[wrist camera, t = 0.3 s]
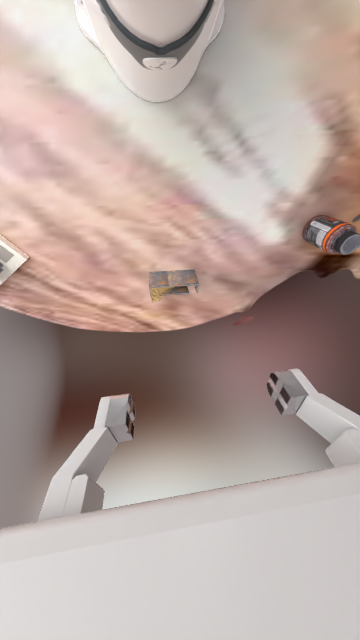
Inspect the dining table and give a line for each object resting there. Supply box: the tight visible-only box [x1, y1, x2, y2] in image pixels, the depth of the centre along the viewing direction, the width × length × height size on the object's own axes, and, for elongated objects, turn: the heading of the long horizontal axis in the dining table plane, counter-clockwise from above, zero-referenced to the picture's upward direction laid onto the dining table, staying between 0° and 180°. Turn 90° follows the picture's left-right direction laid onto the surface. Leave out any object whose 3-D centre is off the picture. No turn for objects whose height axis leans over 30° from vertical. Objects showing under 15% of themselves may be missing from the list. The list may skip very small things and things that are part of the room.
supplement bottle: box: [303, 215, 360, 255], centre depth 41 cm, size 6×6×11 cm
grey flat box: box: [149, 270, 199, 302], centre depth 46 cm, size 11×3×10 cm, turn 90°
